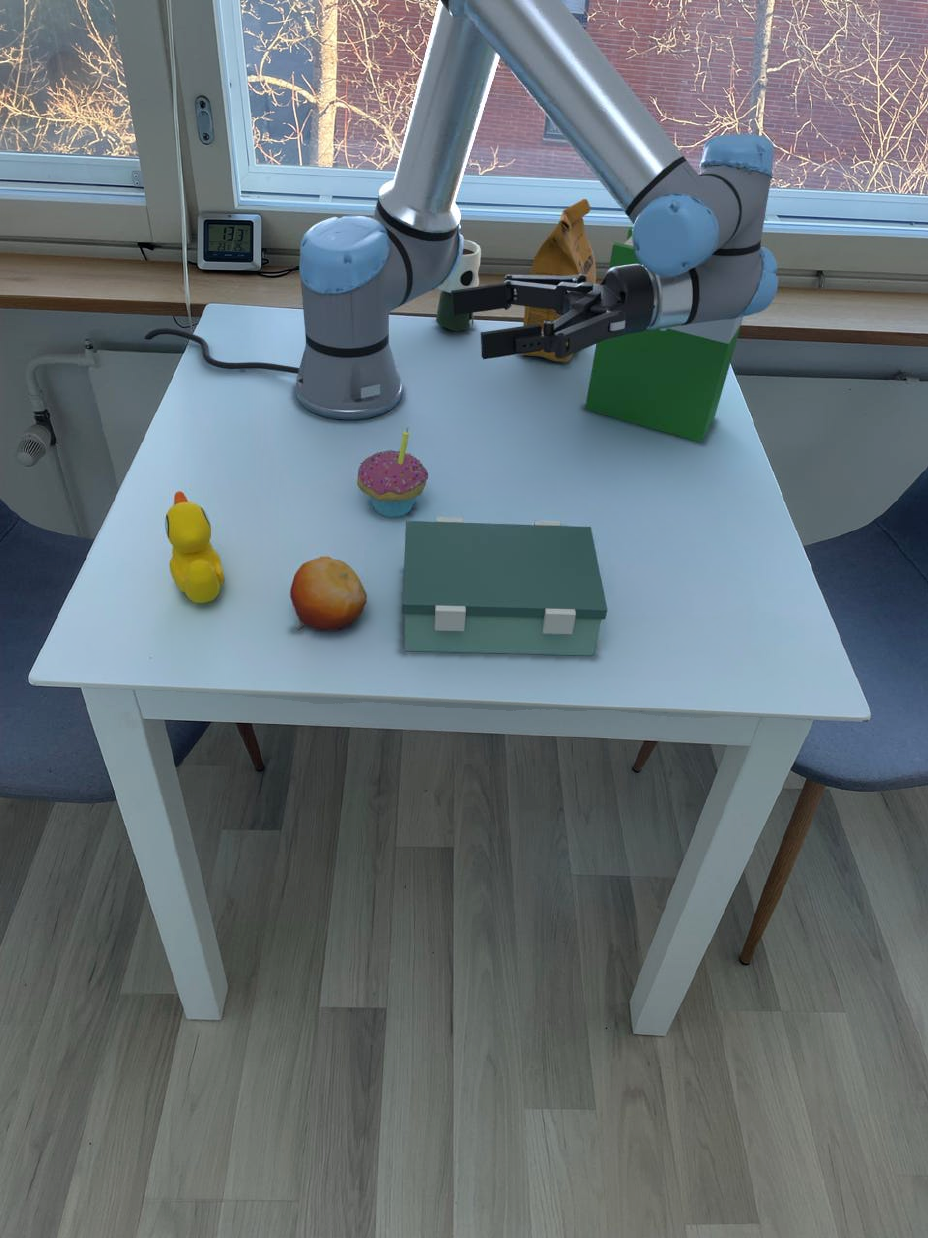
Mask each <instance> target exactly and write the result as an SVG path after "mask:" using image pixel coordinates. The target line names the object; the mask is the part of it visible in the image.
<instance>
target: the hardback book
mask: <svg viewBox="0 0 928 1238" xmlns="http://www.w3.org/2000/svg"><path fill="white" fill-rule="evenodd" d="M633 227H634V226H630V227H629V228H628V232H627V236H626V241H625V242H624V243H620V242H616V241H615V242H614V243H613V244H612V248H611V254H610V260H609V266H608V270H609V269H611V268H613V267H617V266H624V265H632V264H640V265H642V264H641V263H640V261H639V260H638V258H637V256H636V254H635V250H634V246H633V241H632V232H633ZM744 317H745V316H743V317H739V318H736V319H730V320H727V319H724V320H717V321H709V322H701V323H693V324H688V325H682V326H681V325H680V326H674V327H668V329H667V330H666V331H661V330H660V329H655V330H649V329H646V330H645V331H643V332H638V333H631V334H625V335H623V336H619V337H614V338H609V339H606V340H604V341H602V342H599V343H597V344H595V349H594V354H593V359H592V367H591V372H590V378H589V384H588V389H587V394H586V395H587V396H586V401H585V402H586V403H585V407H584V408H585V409H584V410H588V411H589V412H590V411H591V412H594V413H597V414H601V415H604V416H608V417H612V418H615V419H617V420H621V421H626V422H629V423H631V424H636V425H638V426H642V427H646V428H649V429H653V430H655V431H659V432H663V433H666V434H669V435H673V436H677V437H680V438H684V439H687V440H691V441H694V442H697V443H702V442H703V440H704V439H705V437H706V435H707V433H708V431H709V429H710V428H711V426H712V424H713V422H714V421H715V417H716V414H717V412H718V411H717V410H718V407H719V405H720V400H721V398H722V397H721V396H722V394H723V390H724V387H725V383H726V379H727V376H728V373H729V370H730V369H729V368H730V366H731V362H732V358H733V354H734V352H735V348H736V344H737V341H738V337H739V335H740V330H741V327H742V324H743V320H744Z"/></svg>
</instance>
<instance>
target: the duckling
mask: <svg viewBox="0 0 928 1238" xmlns="http://www.w3.org/2000/svg"><path fill="white" fill-rule="evenodd" d="M164 529H165V533H166V536H167V538H168V542H169V543H170V545H171V546H172V549H171V550H172V551H171V553H172V554H171V556H172V558H171V559H170V561H169V570H170V571H169V572H170V575H171V577H172V580H173V581H174V583H175V585H176V587H177V588H178V590H179V591H180V592H182V593H185V596H186V597H187V598H188V599H189V600H190V601H192V602H193V603H196V604H205V603H208V602H212V601H213V600H215V599H216V598H217V597H218V596H219V594H220V589H221V586H222V585H224V584H225V574H224V568H223V565H222V562H221V558H220V556H219V554H218V552H217V551H216V550H214V547H213V545H212V544H211V542H210V541H211V538H212V527H211V521H210V518H209V516H208V514H207V512H206V510H205V509H204V508H203V507H202V506H201V505H199V504H198V503H195V502H192V501H189V500H188V499H187V497H186V495H185V493H184V492H183V491H181V490H179V491H176V492H175V494H174V497H173V505H172V506H171V507H169V509H168V510H167V513H166V515H165V519H164Z"/></svg>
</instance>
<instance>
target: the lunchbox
mask: <svg viewBox="0 0 928 1238" xmlns="http://www.w3.org/2000/svg"><path fill="white" fill-rule="evenodd" d="M404 537H405V538H404V559H403V579H402V580H403V581H402V582H403V583H402V603H401V605H402V606H401V609H402V610H401V613H402V615H404V651H405V652H433V653H434V652H437V653H441V652H442V653H474V654H515V655H550V656H551V655H553V656H587V657H588V656H591V657H592V656H593V657H594V654H595V649H596V646H597V641H598V637H599V632H600V628H601V623H602V621H603V620H606V618H607V613H608V605H607V600H606V596H605V591H604V586H603V581H602V576H601V575H602V574H601V570H600V566H599V560H598V556H597V551H596V546H595V540H594V536H593V530H592V527H591V526H580V525H579V526H578V525H577V526H576V525H562V521H558V520H534V521H533V524H517V523H516V524H515V523H514V524H513V523H486V522H483V523H482V522H464V518H463V517H442V516H441V517H440V516H438V517H437V516H436V517H435V521H428V520H406V521H405V536H404Z"/></svg>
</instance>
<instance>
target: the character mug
mask: <svg viewBox="0 0 928 1238" xmlns="http://www.w3.org/2000/svg"><path fill="white" fill-rule="evenodd" d="M481 255H482V248H481V246H480V245H479V244H478V243H477V242H475V241H472V240H468V239H464V238H463V253H462V257H461V260H460V263H459V265H458V267H457V269H456V270H455V272H454V273H453V274H452V275H451V276H450V277H449V278H448V279H447V280H445V282H444V283H442V284H441V285H440V286H438V287H437V288H438V289H439V290H440V291H441V292H440V294H439V299H438V305H437V310H436V318H435V322H436V323H437V324H438V325H439V326H441V327H444V328H445V329H448V330H450V331H460V332H461V331H466V330H469V329H470V321H471V327H472V326H474V313H467V314H461V315H453V312H452V296H451V290H458V289H466V288H473V287H479V284H480V275H479V270H480V267H481Z"/></svg>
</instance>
